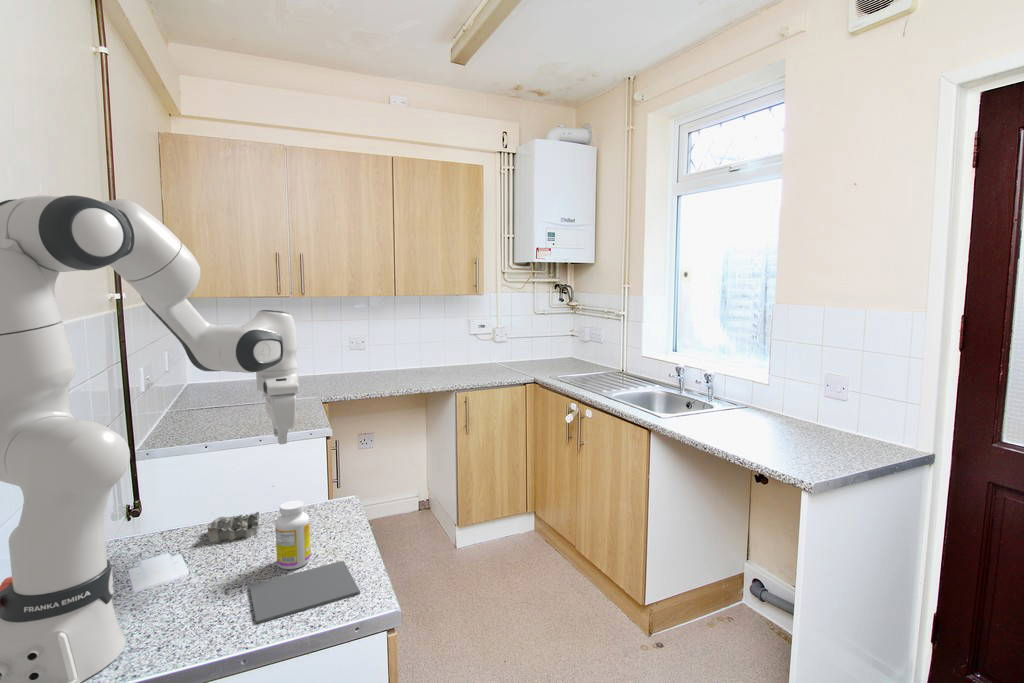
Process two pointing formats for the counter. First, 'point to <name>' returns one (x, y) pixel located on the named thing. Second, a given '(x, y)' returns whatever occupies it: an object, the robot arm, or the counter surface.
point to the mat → (301, 591)
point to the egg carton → (224, 527)
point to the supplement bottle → (292, 536)
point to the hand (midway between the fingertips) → (280, 439)
